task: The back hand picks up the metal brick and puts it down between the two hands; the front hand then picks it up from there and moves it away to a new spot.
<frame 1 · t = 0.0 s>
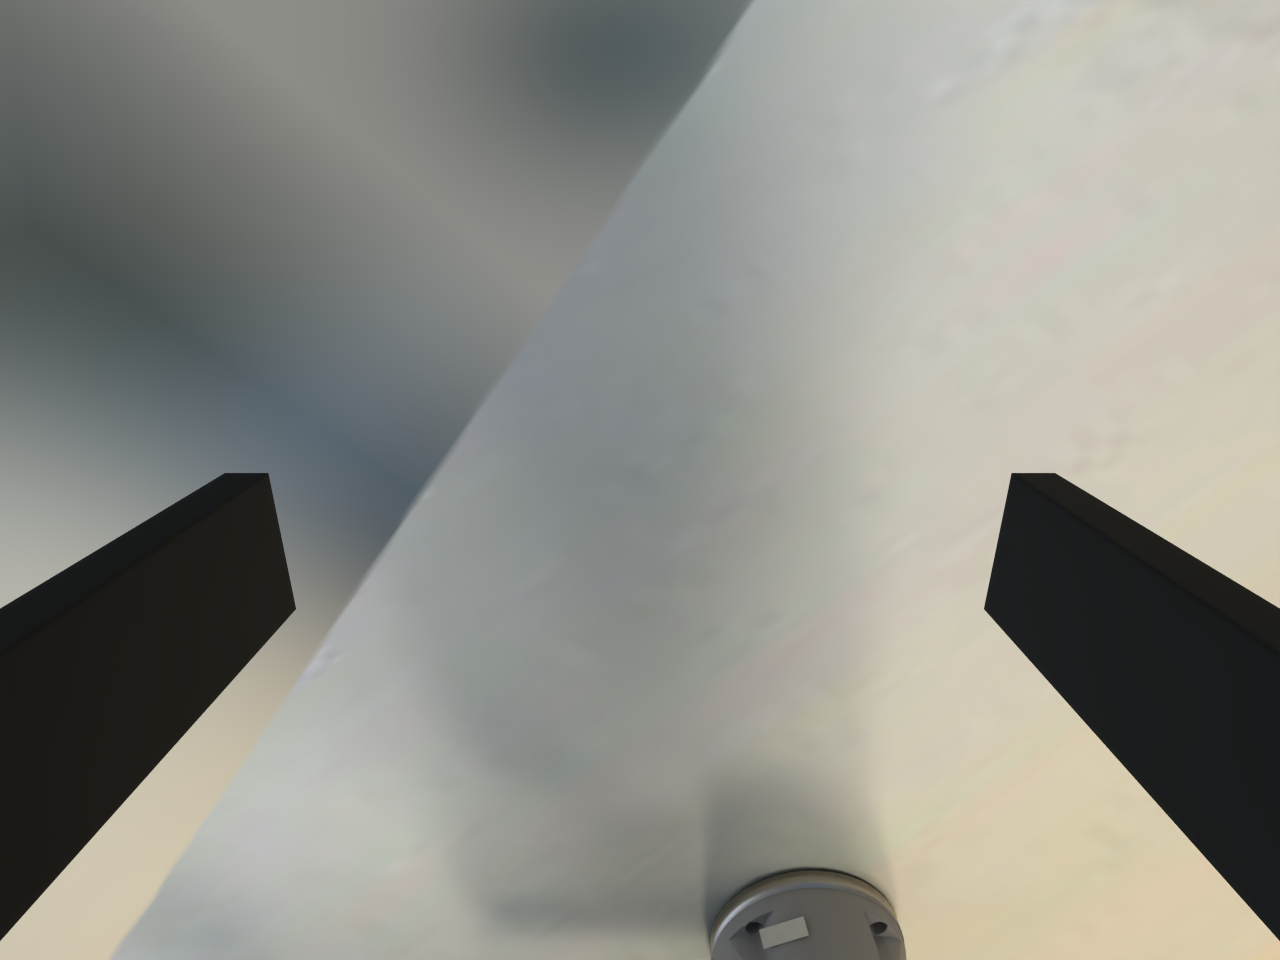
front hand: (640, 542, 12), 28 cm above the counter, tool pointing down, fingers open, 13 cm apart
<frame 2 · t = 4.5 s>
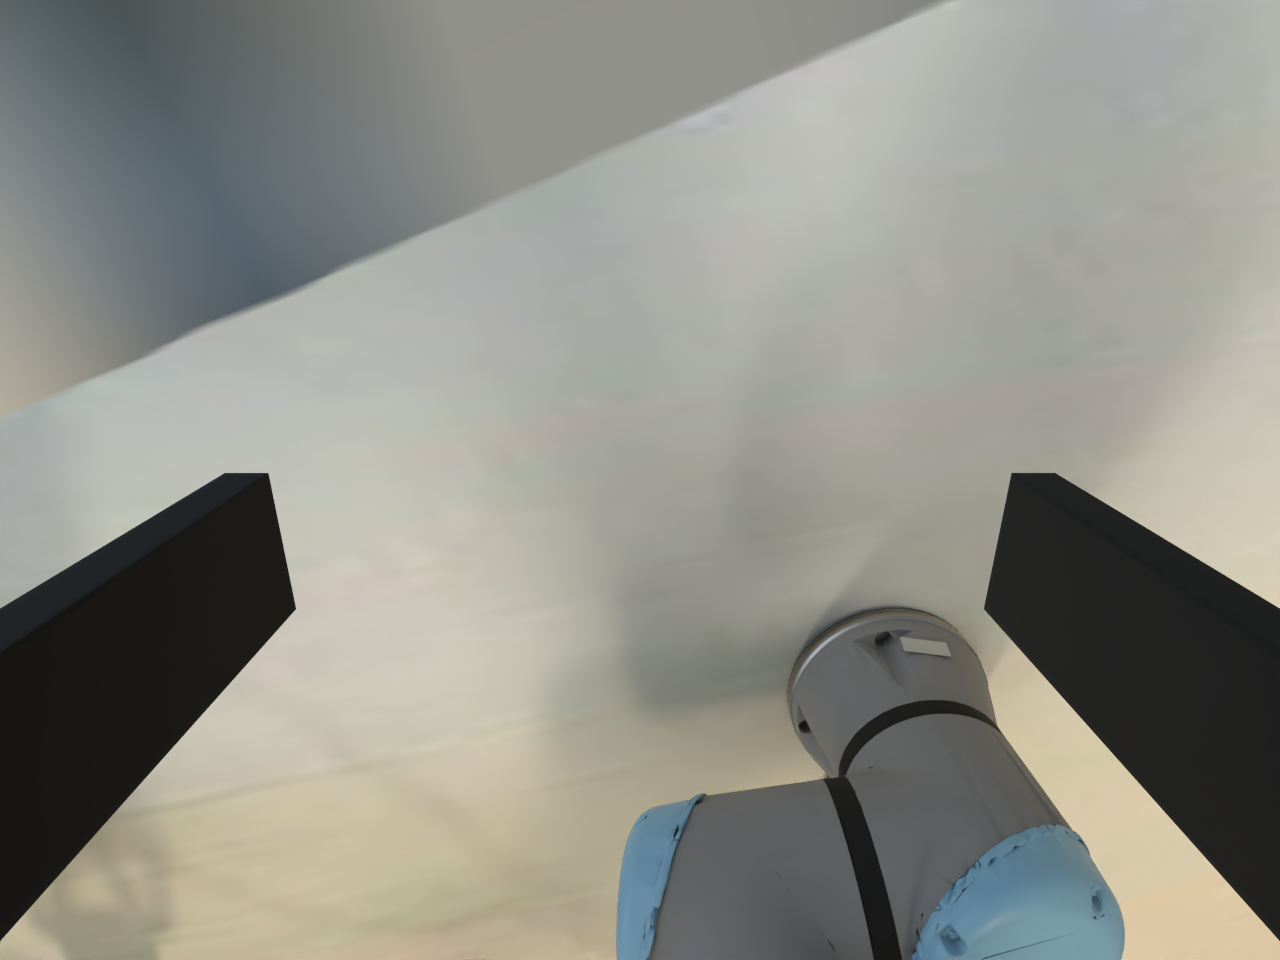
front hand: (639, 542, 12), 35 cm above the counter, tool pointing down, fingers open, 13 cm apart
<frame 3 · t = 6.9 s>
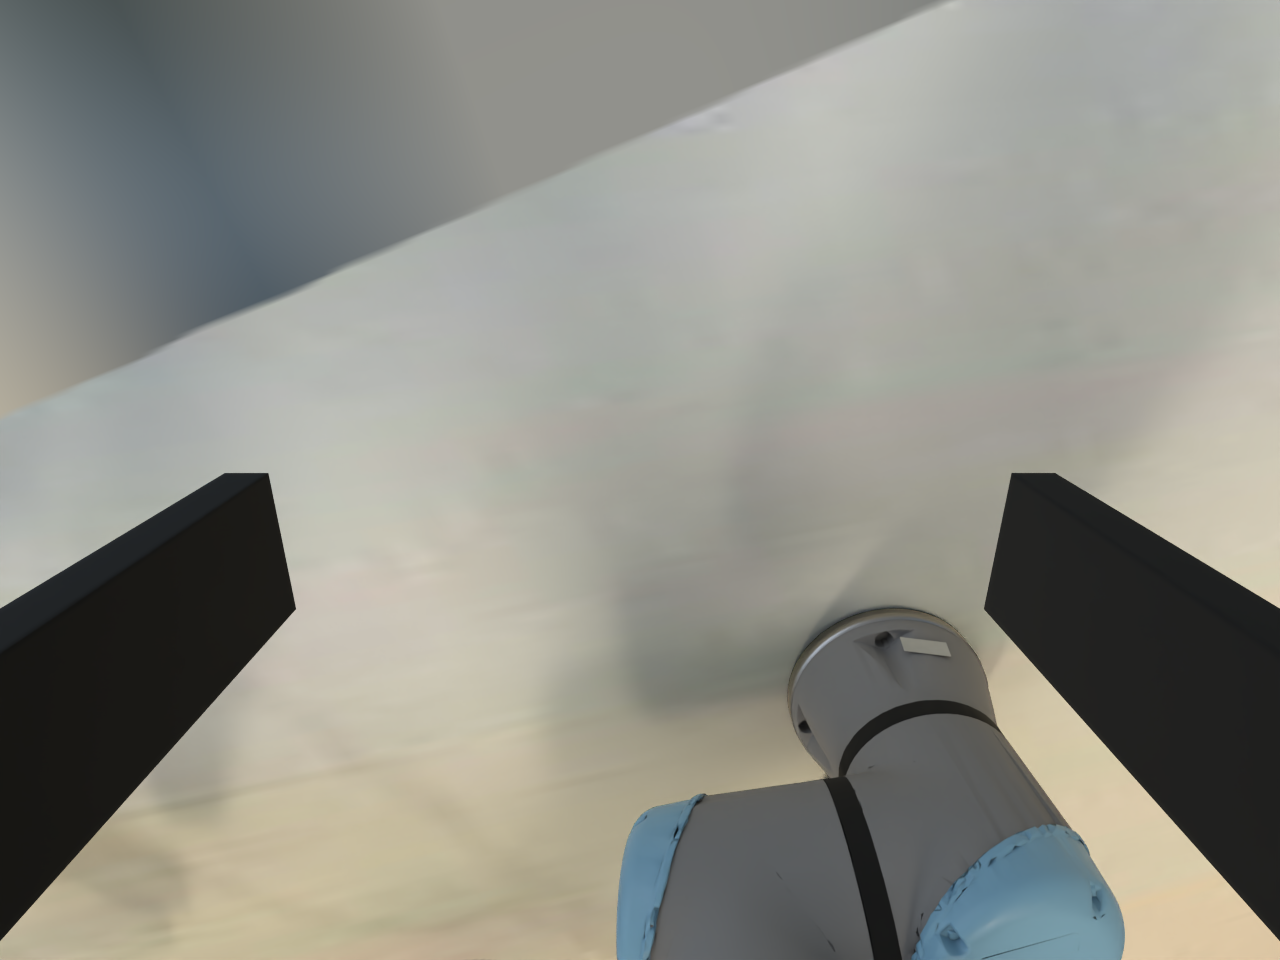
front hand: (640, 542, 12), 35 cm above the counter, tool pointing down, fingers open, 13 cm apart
when the back hand's fingers open (2 cm above the counter, at t = 9.6 s): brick drops 1 cm, on the counter.
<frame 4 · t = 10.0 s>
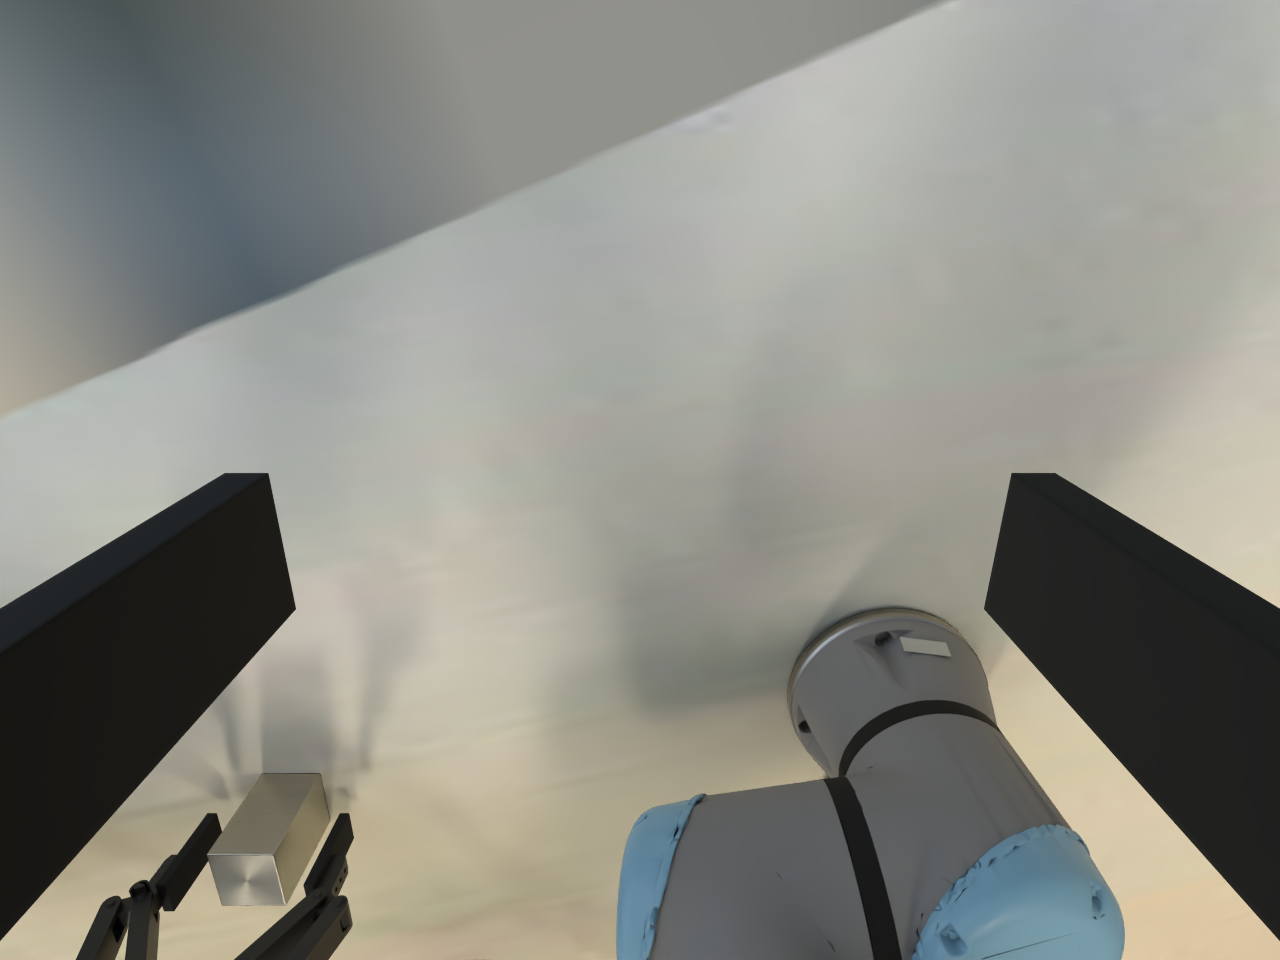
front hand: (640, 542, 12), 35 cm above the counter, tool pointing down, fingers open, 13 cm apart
back hand: (281, 825, 57), fingers open, 10 cm apart
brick: (296, 797, 60), on the counter
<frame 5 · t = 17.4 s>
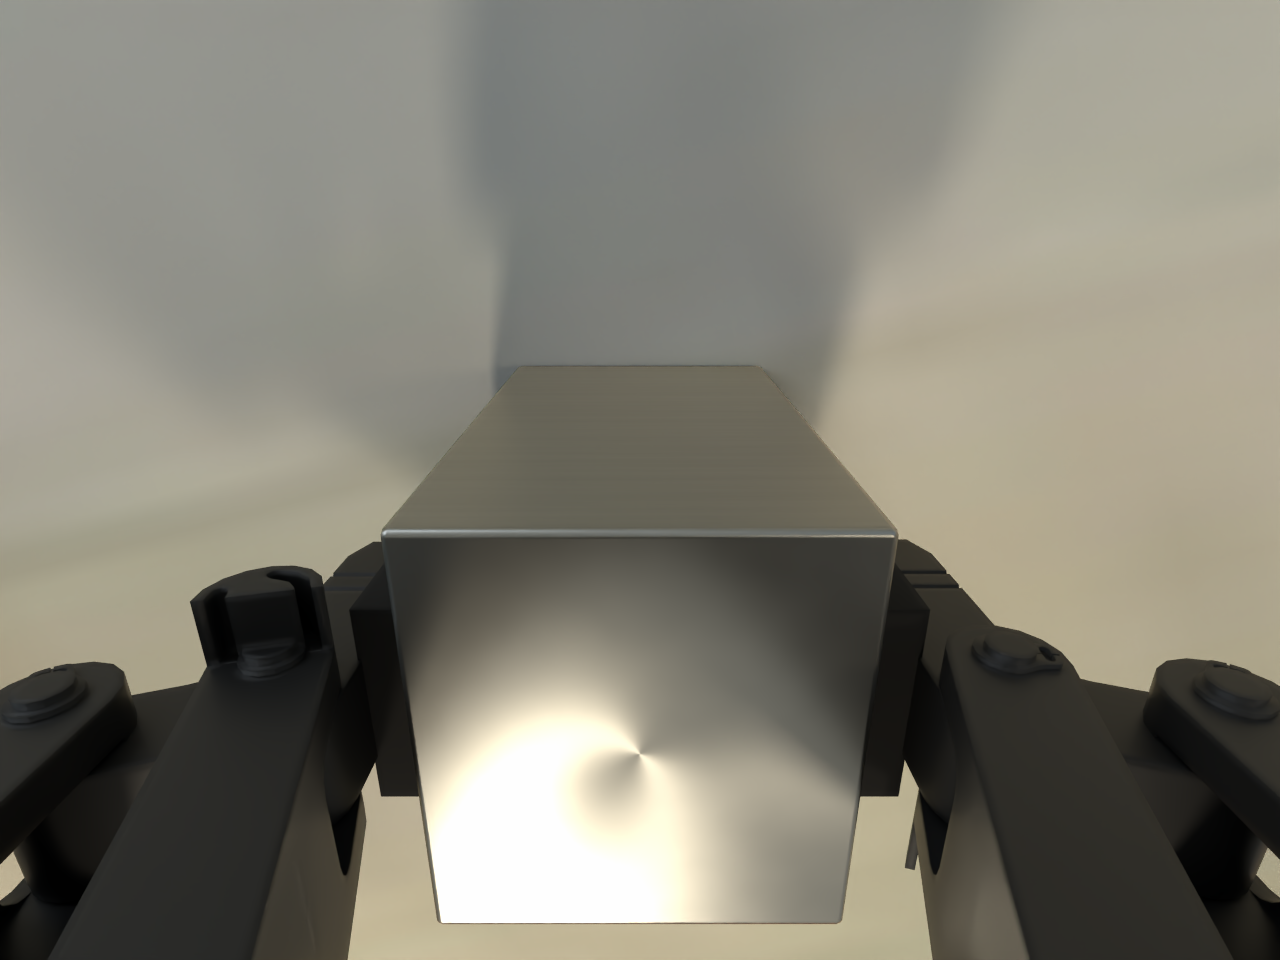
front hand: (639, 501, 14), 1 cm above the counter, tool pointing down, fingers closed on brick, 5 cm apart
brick: (639, 486, 15), on the counter, touching front hand
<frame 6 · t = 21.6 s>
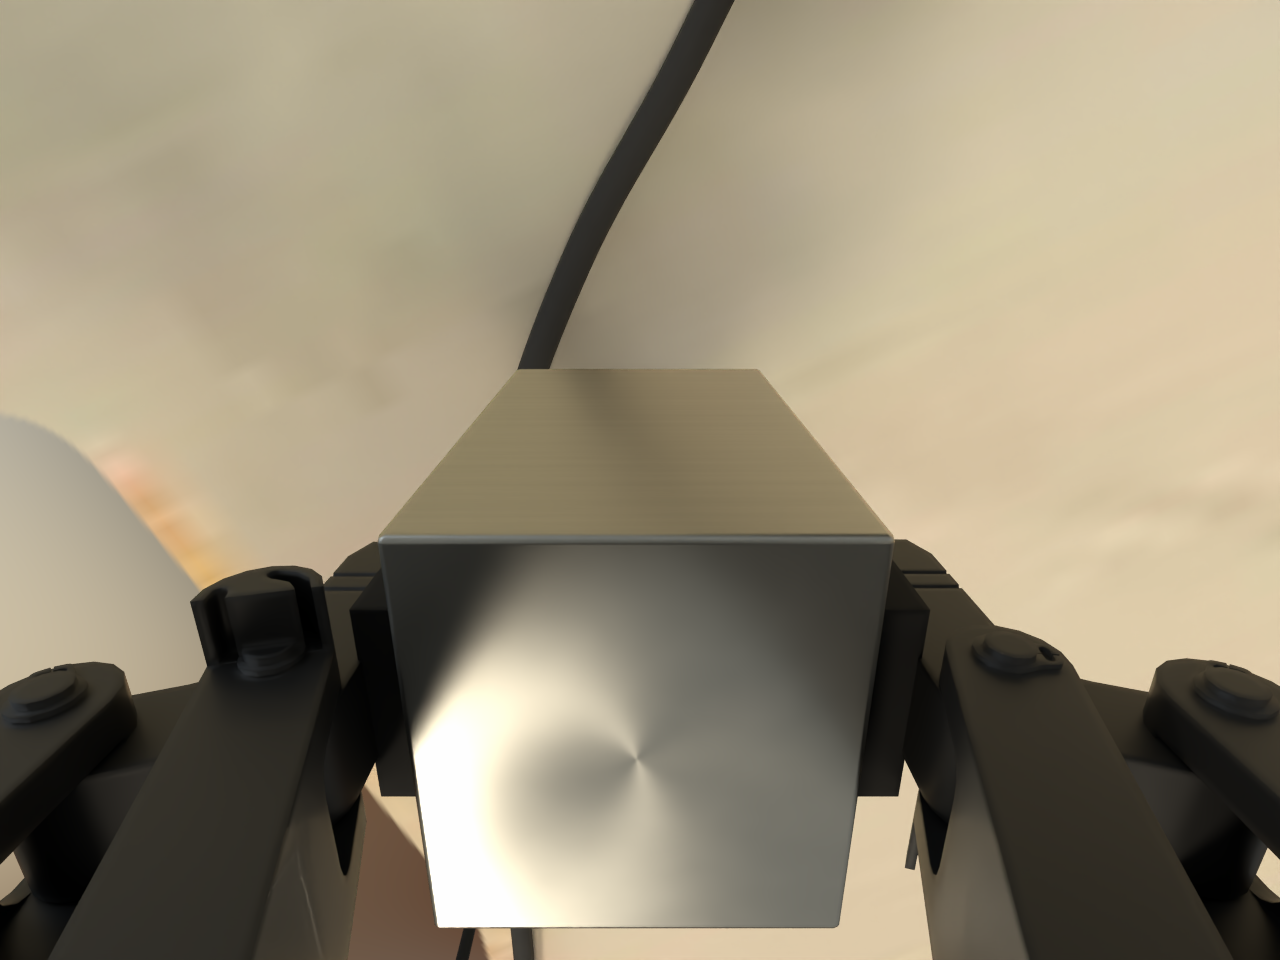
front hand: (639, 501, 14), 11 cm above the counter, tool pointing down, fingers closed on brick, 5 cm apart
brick: (638, 489, 15), point 10 cm above the counter, touching front hand
when the front hand's fingers open (2 cm above the counter, at t = 25.8 s): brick stays where it is, on the counter.
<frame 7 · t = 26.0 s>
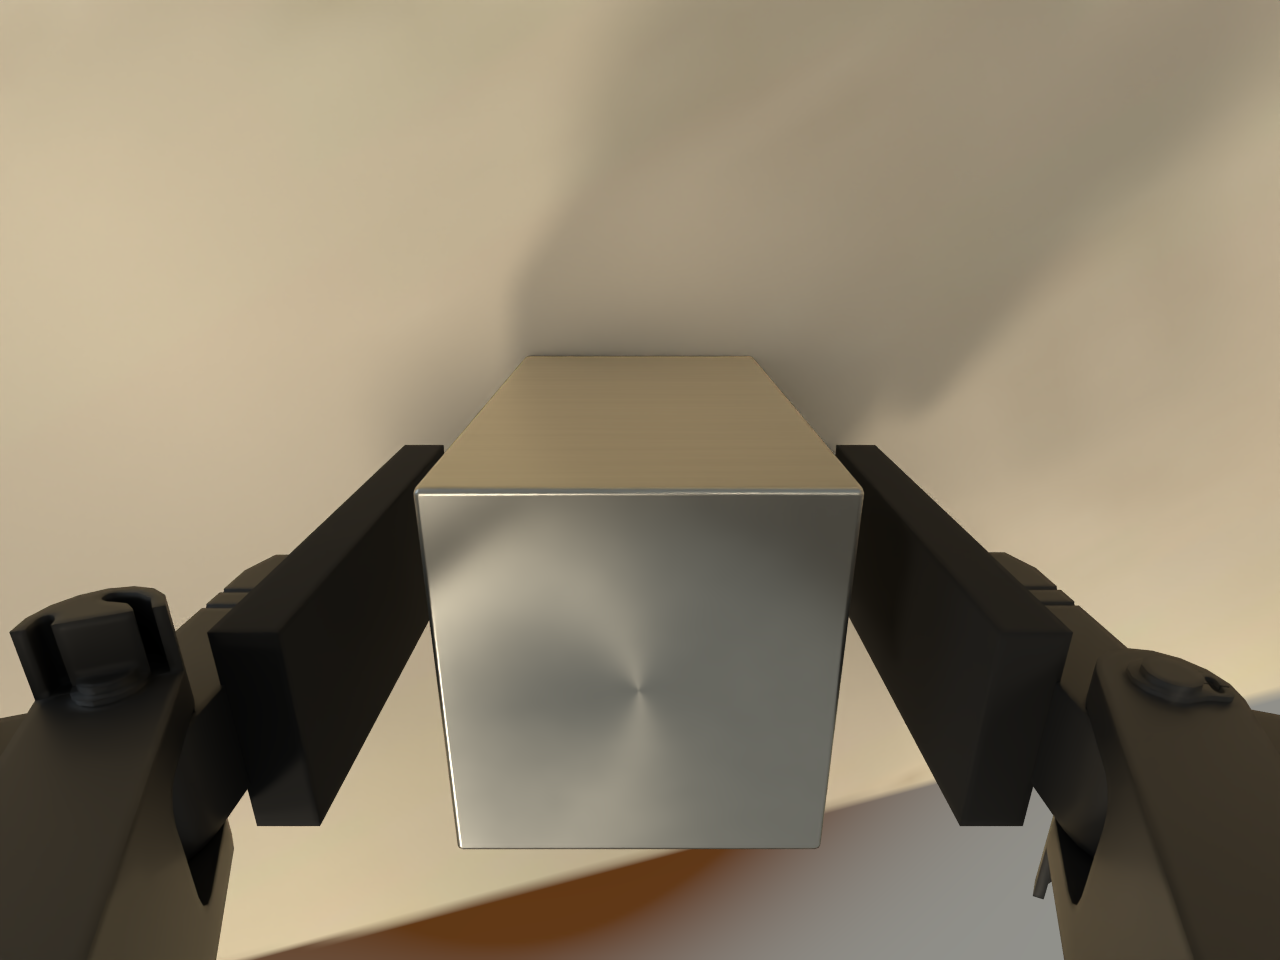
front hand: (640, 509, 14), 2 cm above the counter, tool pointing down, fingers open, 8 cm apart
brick: (639, 469, 16), on the counter
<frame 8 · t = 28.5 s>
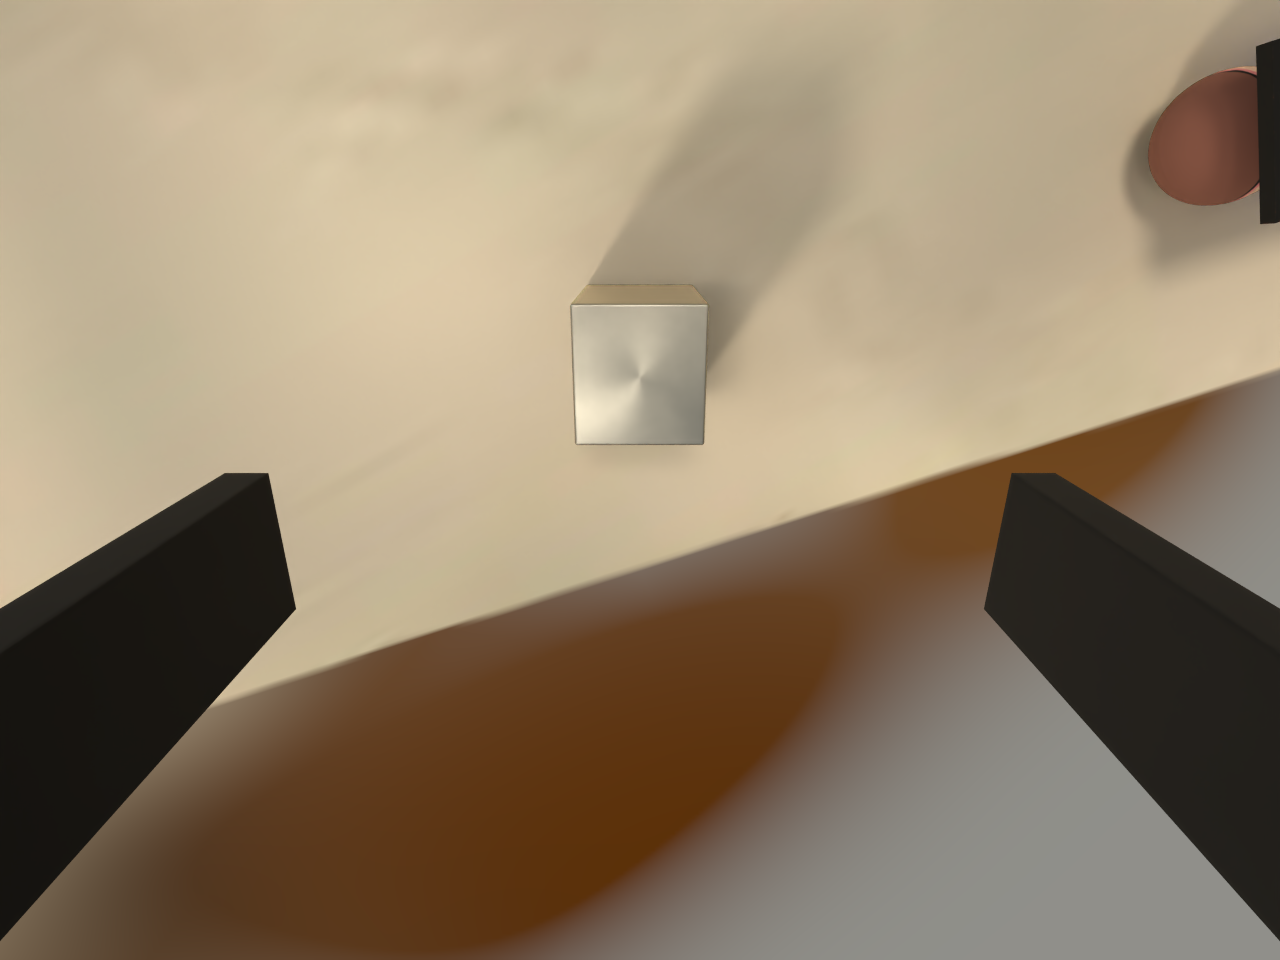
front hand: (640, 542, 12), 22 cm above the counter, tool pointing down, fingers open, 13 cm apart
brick: (639, 342, 33), on the counter
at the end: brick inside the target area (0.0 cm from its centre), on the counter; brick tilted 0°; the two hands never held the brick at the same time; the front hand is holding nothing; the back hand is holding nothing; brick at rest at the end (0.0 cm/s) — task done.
